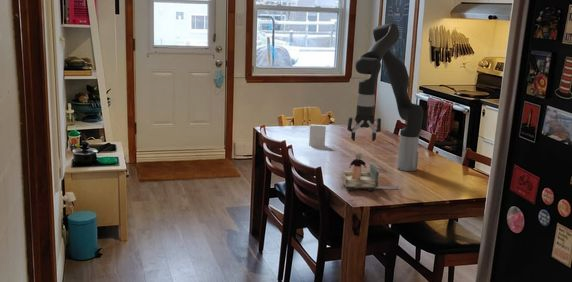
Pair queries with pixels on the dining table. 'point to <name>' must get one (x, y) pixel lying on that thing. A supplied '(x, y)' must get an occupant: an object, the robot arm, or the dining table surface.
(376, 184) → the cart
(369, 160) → the dining table surface
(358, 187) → the strip
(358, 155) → the grandmother figurine
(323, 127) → the light grey upright block
